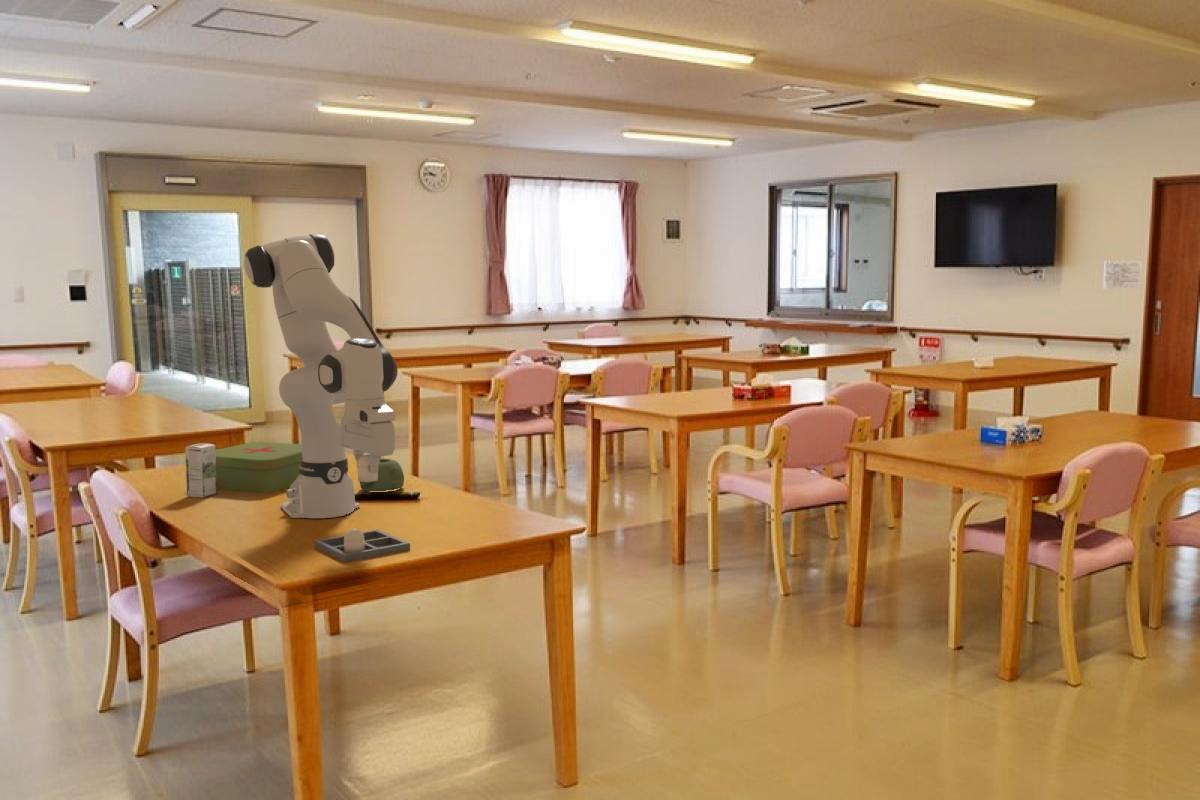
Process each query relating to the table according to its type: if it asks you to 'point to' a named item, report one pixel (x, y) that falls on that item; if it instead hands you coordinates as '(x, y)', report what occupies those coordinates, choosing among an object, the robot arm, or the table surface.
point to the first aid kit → (258, 467)
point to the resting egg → (354, 541)
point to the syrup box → (201, 470)
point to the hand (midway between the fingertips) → (367, 470)
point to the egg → (365, 470)
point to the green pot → (386, 477)
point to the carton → (374, 546)
